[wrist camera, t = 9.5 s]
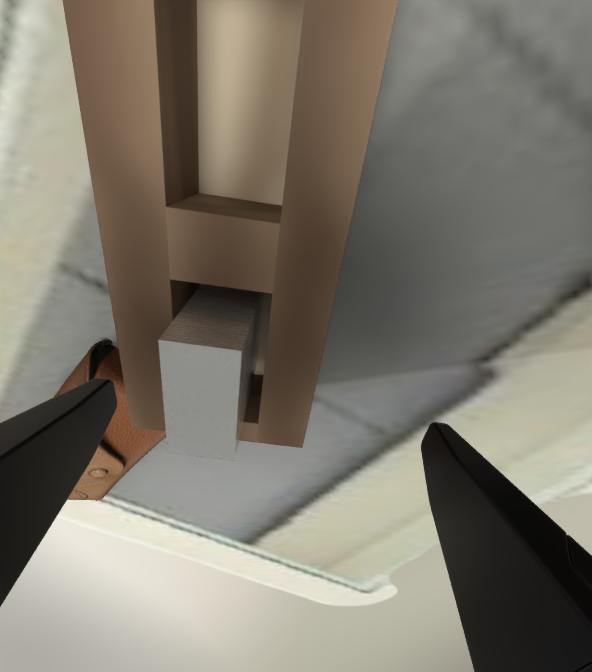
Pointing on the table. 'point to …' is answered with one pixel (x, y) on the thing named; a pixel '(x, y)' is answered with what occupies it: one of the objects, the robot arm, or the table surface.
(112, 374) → the sunglasses case
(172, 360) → the grey block
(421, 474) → the table surface
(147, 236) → the post block
